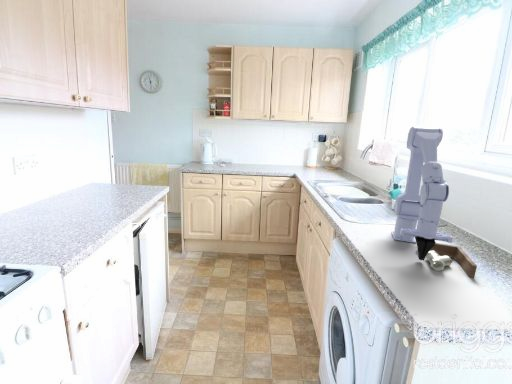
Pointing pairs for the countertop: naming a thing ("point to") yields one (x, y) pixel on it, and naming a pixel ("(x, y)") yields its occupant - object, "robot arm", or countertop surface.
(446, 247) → the corner arena
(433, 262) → the pipe fitting
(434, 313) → the countertop surface
